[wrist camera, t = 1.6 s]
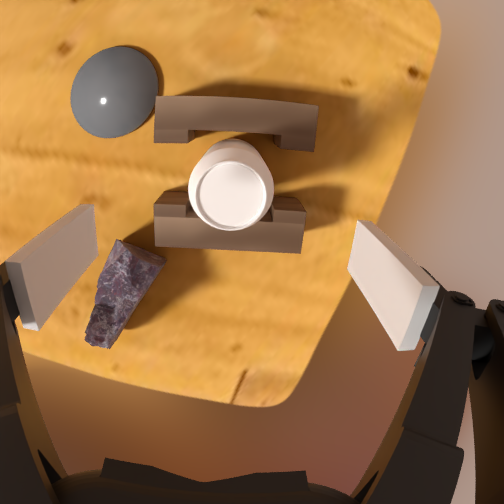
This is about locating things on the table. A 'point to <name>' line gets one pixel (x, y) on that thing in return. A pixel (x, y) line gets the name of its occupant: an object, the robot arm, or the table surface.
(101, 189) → the table surface
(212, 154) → the beverage can
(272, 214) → the notched wooden bars
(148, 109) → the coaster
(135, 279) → the stone
